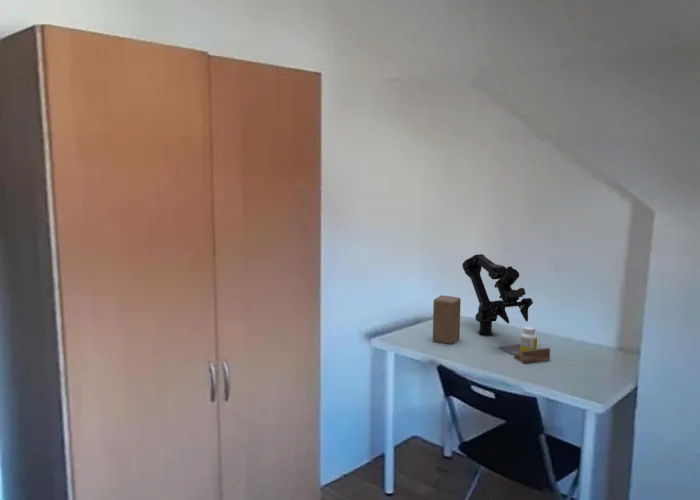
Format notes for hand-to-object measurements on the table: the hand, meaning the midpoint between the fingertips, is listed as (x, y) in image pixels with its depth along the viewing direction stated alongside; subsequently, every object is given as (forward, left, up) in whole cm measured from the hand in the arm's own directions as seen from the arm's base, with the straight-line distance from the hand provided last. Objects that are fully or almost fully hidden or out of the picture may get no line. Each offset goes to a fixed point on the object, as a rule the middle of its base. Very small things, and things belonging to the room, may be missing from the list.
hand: (518, 322), depth 259 cm
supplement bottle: (+7, +4, -13) cm, 16 cm away
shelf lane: (+10, +5, -13) cm, 17 cm away
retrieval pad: (-1, 0, -13) cm, 13 cm away
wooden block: (-12, -30, -13) cm, 35 cm away
